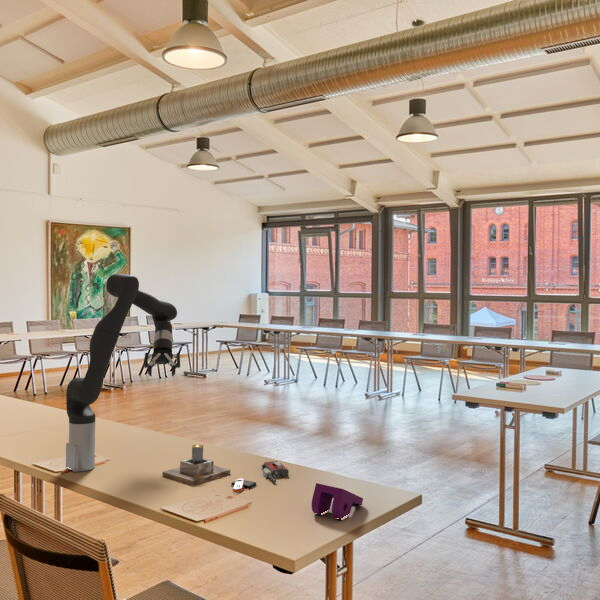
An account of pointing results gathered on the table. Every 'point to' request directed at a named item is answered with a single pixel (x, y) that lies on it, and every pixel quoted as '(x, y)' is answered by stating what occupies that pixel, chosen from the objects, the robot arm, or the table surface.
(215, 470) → the dock board
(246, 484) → the multimeter
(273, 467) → the walkie-talkie
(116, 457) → the table surface
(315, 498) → the mounting bracket
